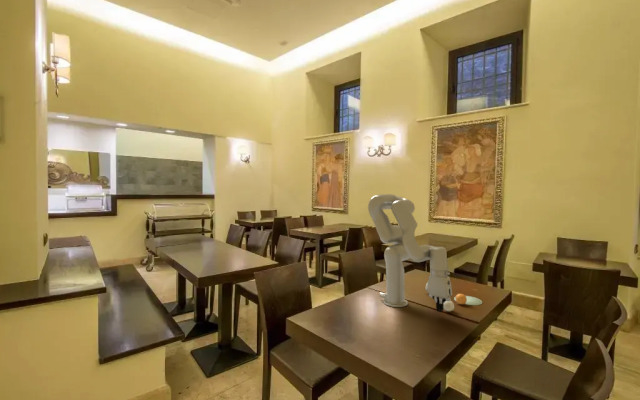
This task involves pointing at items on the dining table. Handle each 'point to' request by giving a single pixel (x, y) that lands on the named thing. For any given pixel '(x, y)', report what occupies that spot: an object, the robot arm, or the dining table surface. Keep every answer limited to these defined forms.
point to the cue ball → (448, 305)
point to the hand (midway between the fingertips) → (440, 310)
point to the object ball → (461, 298)
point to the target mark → (472, 301)
